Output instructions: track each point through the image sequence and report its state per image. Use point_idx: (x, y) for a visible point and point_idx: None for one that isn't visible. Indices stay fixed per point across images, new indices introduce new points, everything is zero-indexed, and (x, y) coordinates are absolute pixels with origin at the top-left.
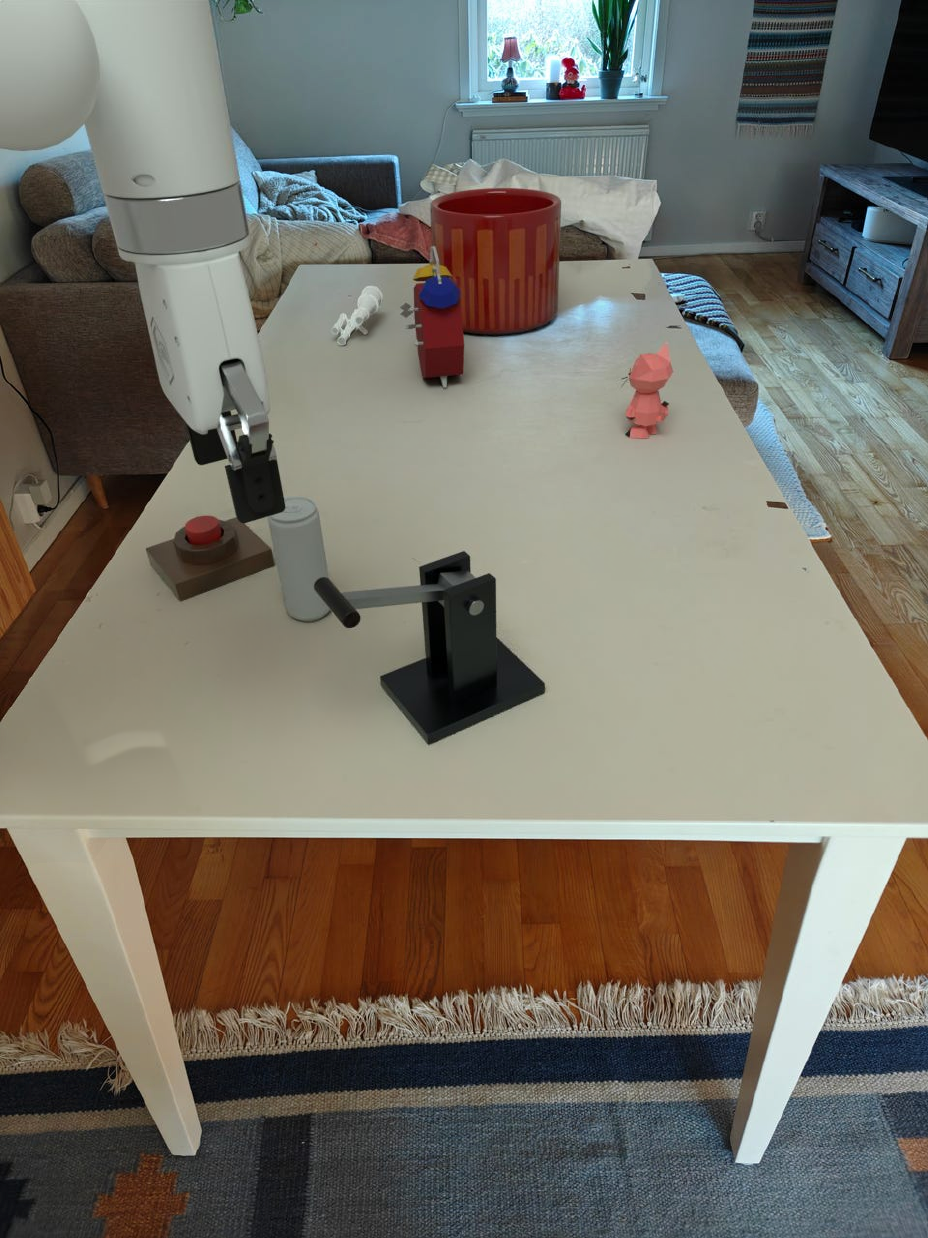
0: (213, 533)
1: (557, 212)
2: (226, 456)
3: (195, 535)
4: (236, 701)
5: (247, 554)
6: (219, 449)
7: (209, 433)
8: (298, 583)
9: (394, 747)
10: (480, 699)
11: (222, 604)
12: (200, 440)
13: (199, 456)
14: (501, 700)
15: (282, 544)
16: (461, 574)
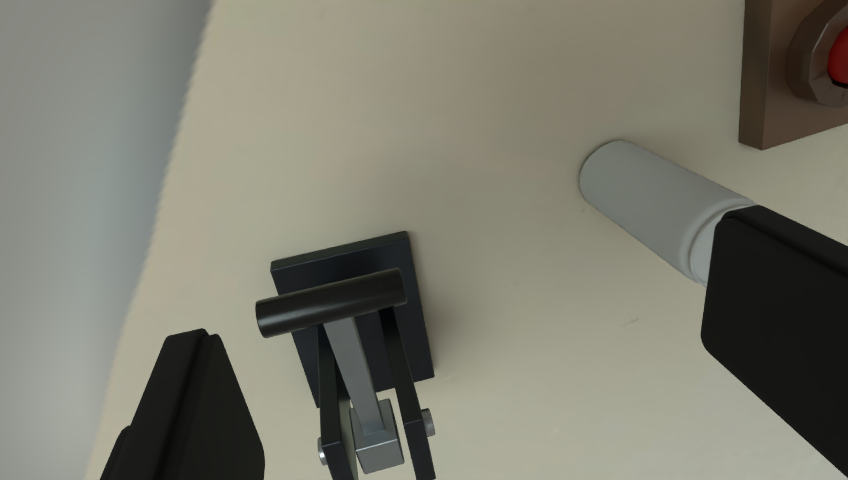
0: (843, 70)
1: None
2: (709, 311)
3: None
4: (459, 26)
5: (772, 111)
6: (735, 314)
7: (803, 340)
8: (619, 185)
9: (281, 221)
10: (314, 340)
11: (696, 45)
12: (796, 287)
13: (741, 238)
14: (304, 360)
15: (676, 199)
16: (390, 458)
